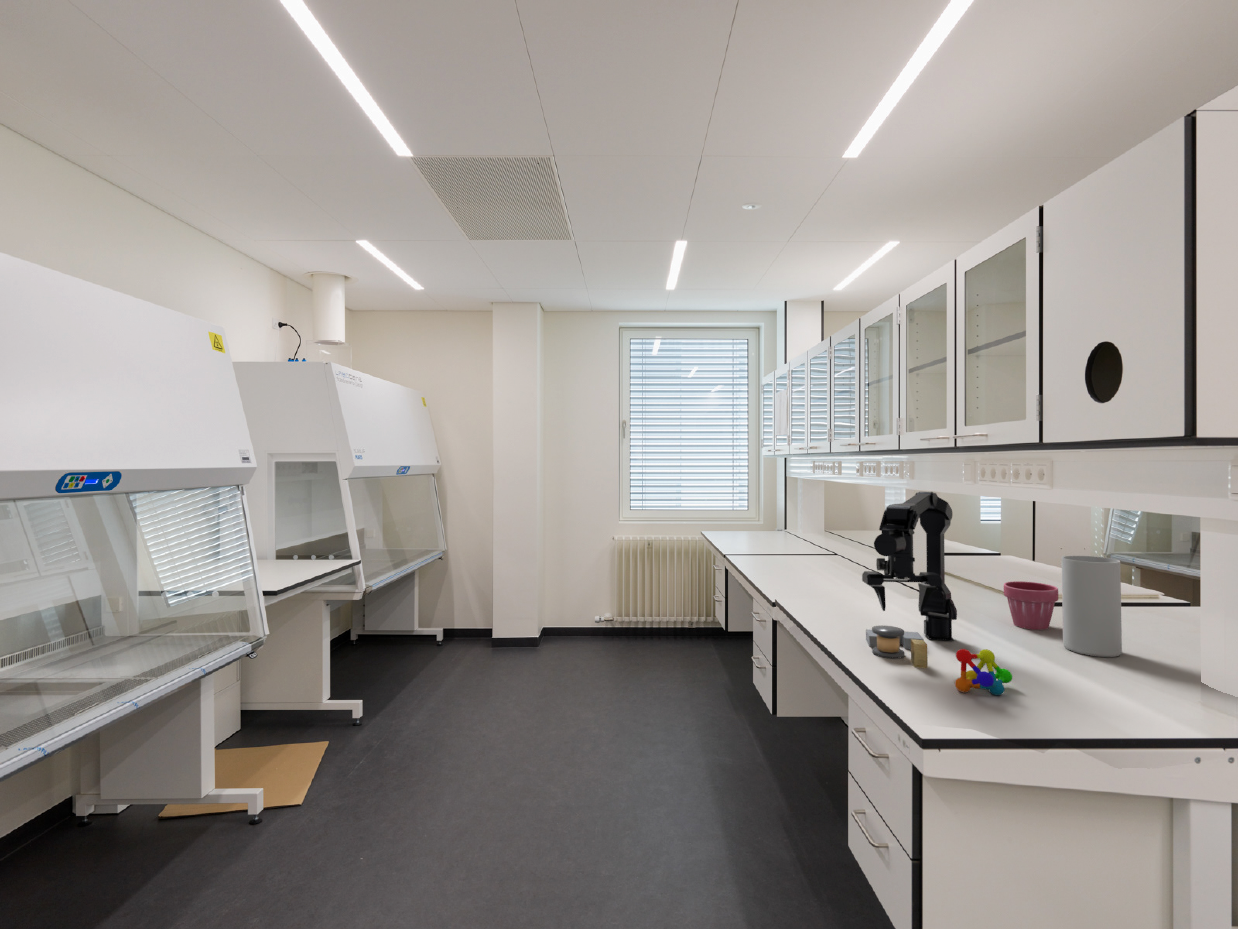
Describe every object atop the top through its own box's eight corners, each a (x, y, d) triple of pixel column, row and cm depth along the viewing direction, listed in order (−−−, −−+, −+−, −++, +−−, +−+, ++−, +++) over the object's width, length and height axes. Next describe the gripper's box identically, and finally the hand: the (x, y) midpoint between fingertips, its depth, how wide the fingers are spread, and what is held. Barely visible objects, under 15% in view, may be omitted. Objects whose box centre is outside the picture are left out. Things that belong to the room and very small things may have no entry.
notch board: (917, 642, 169) (917, 632, 169) (923, 650, 163) (923, 639, 163) (865, 639, 173) (865, 629, 173) (869, 646, 166) (869, 636, 166)
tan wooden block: (923, 663, 152) (923, 640, 152) (927, 668, 148) (927, 644, 148) (911, 662, 153) (910, 639, 153) (914, 667, 149) (914, 643, 149)
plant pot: (1044, 635, 175) (1043, 592, 175) (994, 624, 187) (994, 584, 187) (1068, 628, 182) (1067, 586, 182) (1019, 618, 194) (1018, 579, 194)
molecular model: (1020, 715, 129) (985, 683, 124) (972, 709, 138) (938, 679, 132) (1023, 667, 135) (990, 635, 130) (978, 664, 143) (945, 634, 138)
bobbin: (901, 650, 163) (900, 626, 163) (907, 659, 155) (907, 634, 155) (870, 648, 165) (869, 624, 165) (874, 657, 157) (874, 632, 157)
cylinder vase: (1134, 656, 155) (1132, 561, 155) (1096, 660, 153) (1094, 563, 153) (1087, 642, 167) (1086, 554, 167) (1051, 645, 165) (1050, 556, 165)
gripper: (926, 548, 162) (927, 605, 162) (856, 547, 165) (857, 603, 165) (943, 554, 151) (944, 615, 151) (867, 553, 154) (868, 613, 154)
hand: (901, 611), depth 156 cm, fingers open, 9 cm apart
